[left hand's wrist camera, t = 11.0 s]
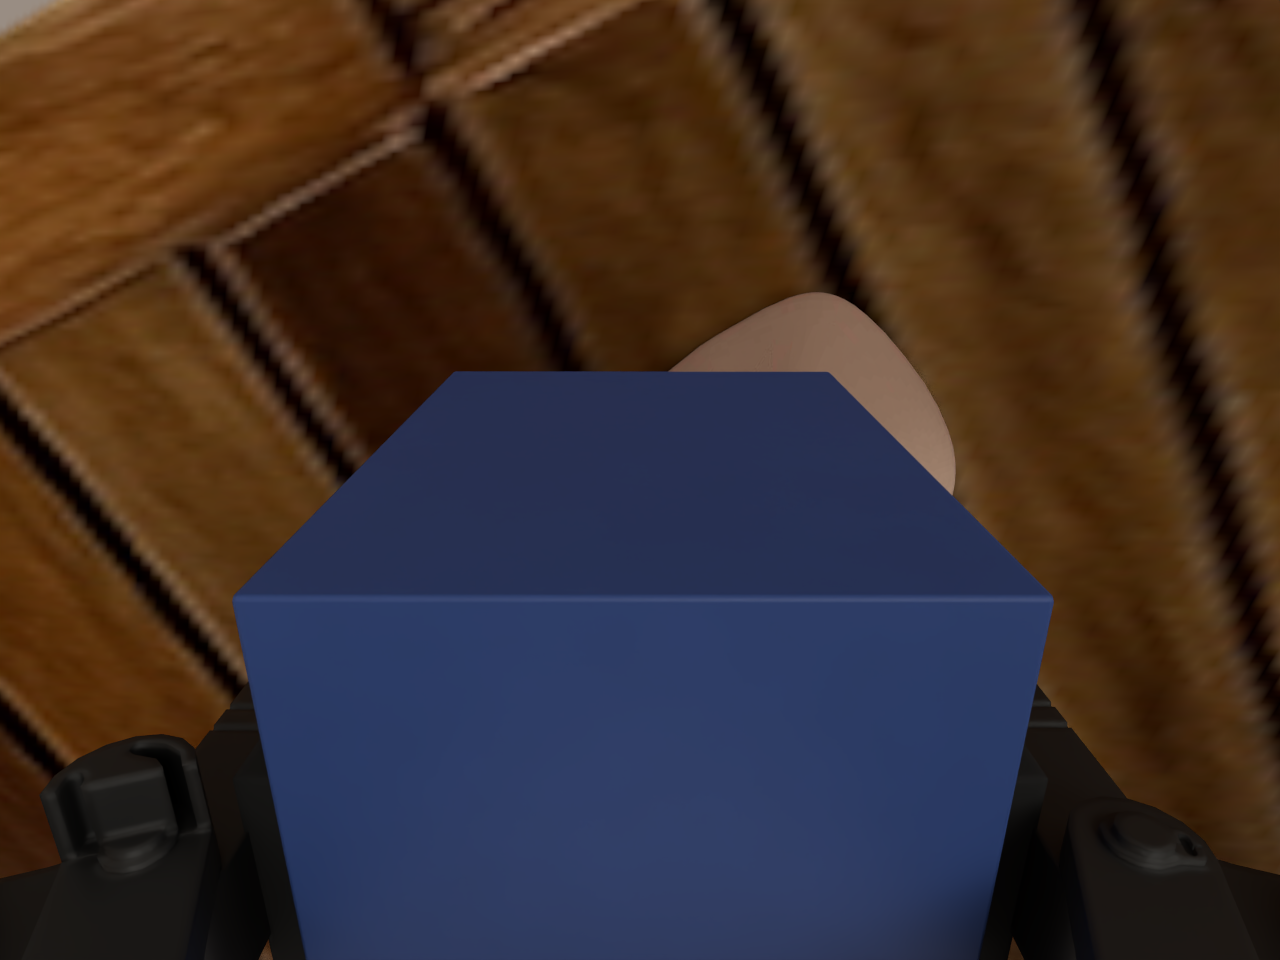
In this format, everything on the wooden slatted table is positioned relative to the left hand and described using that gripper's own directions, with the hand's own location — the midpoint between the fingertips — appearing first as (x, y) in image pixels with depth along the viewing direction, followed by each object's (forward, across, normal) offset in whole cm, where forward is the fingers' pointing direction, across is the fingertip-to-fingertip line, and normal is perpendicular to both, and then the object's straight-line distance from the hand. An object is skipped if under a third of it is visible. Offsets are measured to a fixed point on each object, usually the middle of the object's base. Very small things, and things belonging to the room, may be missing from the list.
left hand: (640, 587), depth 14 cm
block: (+1, 0, 0) cm, 1 cm away
